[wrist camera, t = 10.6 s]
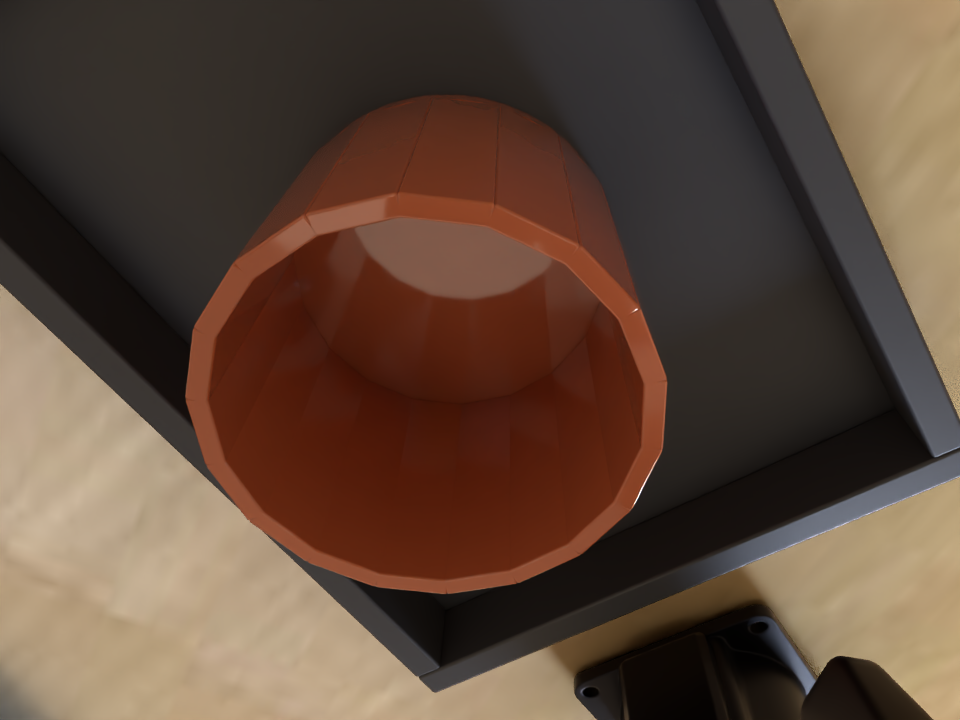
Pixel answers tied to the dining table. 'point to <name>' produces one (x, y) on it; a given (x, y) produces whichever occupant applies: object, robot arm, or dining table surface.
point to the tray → (632, 198)
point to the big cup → (432, 355)
